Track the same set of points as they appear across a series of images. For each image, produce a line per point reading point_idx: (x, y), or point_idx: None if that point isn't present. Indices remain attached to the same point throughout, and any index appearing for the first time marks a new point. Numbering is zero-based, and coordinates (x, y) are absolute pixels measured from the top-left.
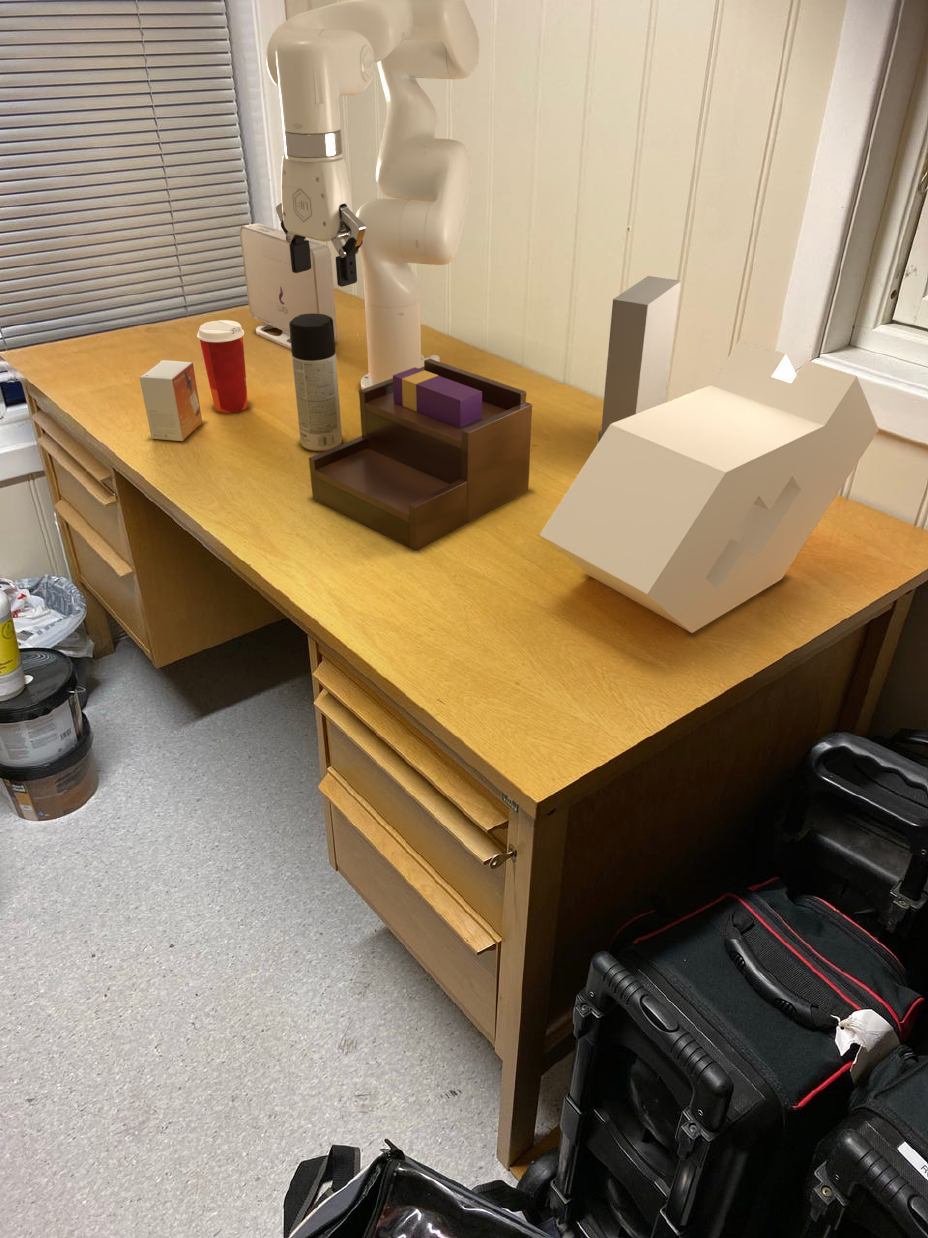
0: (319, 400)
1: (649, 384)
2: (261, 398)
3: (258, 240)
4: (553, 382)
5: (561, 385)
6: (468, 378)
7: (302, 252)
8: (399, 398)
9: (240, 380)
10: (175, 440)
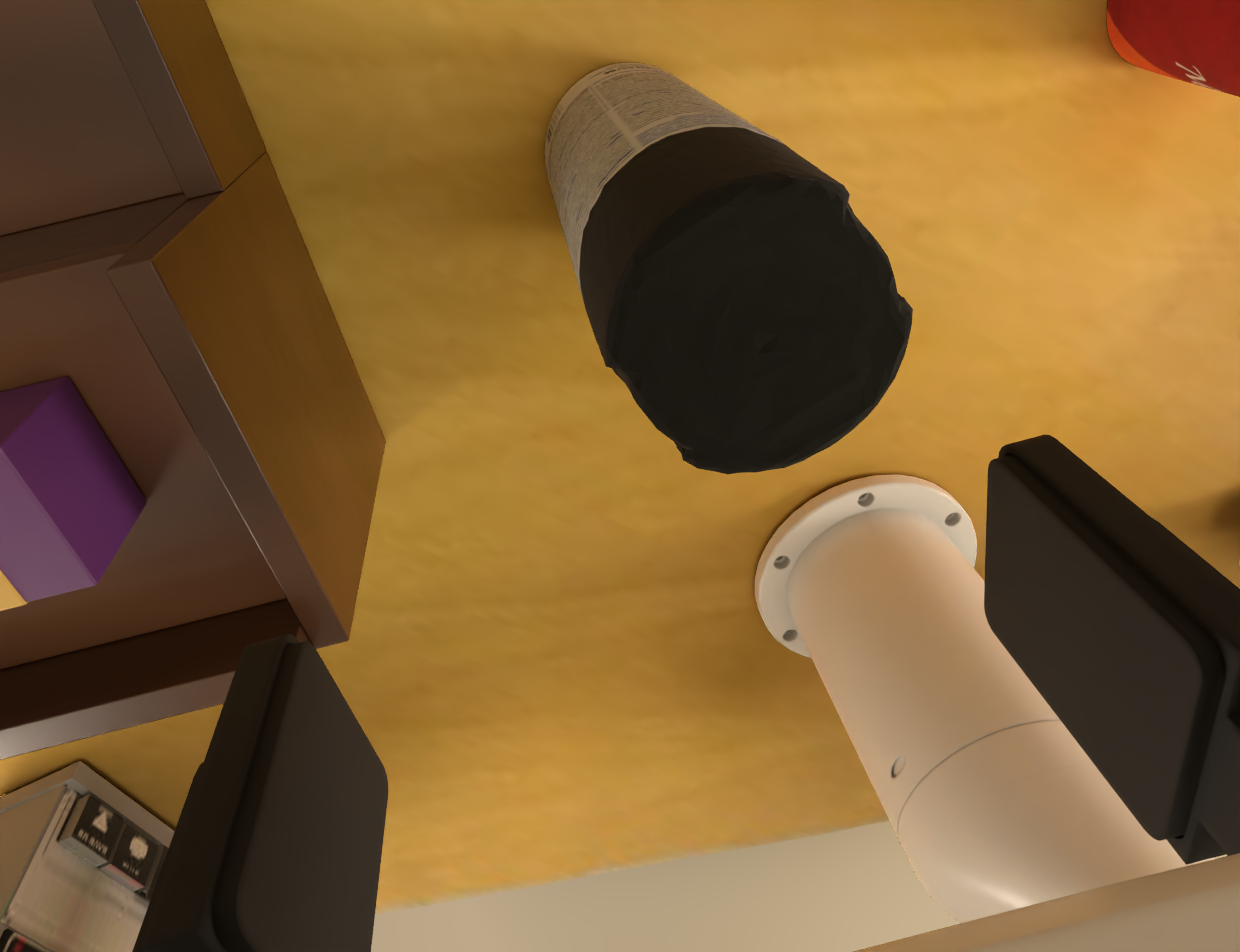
0: (566, 164)
1: None
2: (1133, 147)
3: None
4: (602, 862)
5: (575, 867)
6: (7, 718)
7: (1102, 679)
8: (9, 401)
9: (1192, 34)
10: None
